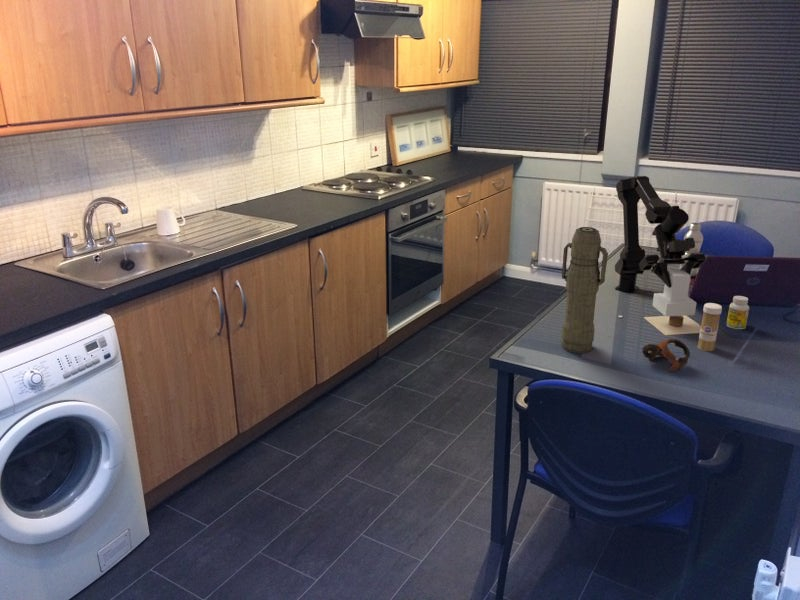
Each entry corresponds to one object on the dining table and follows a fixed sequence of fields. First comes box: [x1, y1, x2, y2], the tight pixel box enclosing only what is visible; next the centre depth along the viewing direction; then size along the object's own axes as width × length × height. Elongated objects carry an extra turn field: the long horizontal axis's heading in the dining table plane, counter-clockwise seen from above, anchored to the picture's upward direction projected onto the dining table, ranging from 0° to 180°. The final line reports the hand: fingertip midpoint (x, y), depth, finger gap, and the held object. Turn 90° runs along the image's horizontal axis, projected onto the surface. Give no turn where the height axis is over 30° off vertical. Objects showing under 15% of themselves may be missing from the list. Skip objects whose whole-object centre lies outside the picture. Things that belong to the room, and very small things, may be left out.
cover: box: [652, 269, 697, 316], centre depth 195 cm, size 9×9×12 cm
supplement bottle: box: [726, 295, 750, 330], centre depth 196 cm, size 5×5×10 cm
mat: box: [643, 315, 701, 336], centre depth 199 cm, size 14×14×1 cm
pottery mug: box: [642, 338, 691, 372], centre depth 174 cm, size 12×10×8 cm
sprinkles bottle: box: [696, 302, 723, 352], centre depth 181 cm, size 5×5×14 cm
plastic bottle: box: [678, 222, 704, 277], centre depth 240 cm, size 6×7×20 cm
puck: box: [669, 316, 684, 327], centre depth 199 cm, size 4×4×2 cm
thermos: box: [561, 226, 609, 354], centre depth 181 cm, size 9×12×35 cm
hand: (678, 286), depth 193 cm, fingers closed on cover, 5 cm apart
